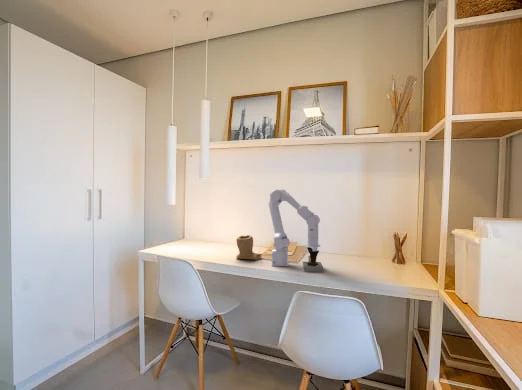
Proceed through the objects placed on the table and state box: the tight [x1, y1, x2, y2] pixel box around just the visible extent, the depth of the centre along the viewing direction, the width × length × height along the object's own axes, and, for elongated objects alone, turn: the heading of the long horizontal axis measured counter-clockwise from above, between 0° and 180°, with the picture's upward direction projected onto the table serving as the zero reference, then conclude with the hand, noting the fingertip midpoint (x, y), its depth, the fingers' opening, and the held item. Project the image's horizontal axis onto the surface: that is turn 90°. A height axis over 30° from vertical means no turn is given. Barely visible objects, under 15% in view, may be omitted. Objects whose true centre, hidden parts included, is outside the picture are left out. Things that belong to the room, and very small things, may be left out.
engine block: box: [302, 261, 324, 273], centre depth 156 cm, size 10×10×3 cm
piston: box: [307, 252, 317, 266], centre depth 156 cm, size 5×5×6 cm
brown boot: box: [236, 234, 263, 260], centre depth 178 cm, size 15×12×15 cm
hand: (312, 261), depth 156 cm, fingers closed on piston, 4 cm apart
